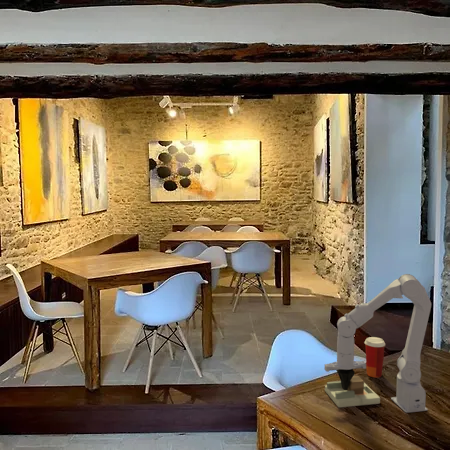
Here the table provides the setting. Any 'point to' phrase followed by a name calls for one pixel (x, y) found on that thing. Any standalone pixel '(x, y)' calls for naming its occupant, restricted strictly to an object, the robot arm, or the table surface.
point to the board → (350, 395)
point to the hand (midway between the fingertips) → (344, 388)
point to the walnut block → (356, 385)
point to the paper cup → (374, 356)
